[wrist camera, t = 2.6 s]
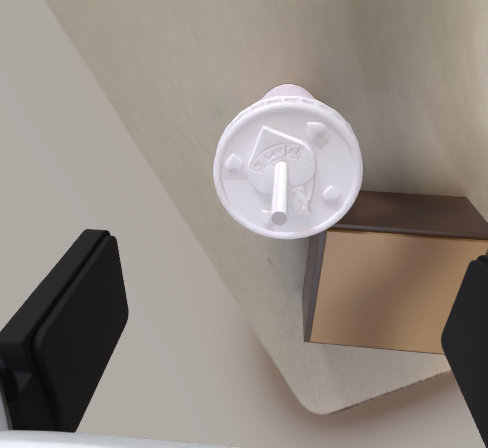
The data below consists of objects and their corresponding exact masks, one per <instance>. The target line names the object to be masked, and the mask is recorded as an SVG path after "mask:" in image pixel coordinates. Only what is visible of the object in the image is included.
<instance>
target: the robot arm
mask: <svg viewBox="0 0 488 448" xmlns="http://www.w3.org/2000/svg"><path fill="white" fill-rule="evenodd" d="M127 320H128V304H127V299H126V292H125V286H124V280H123V274H122V268H121V262H120V257H119V251H118V245H117V240H116V238H115V237H114V236H111V235H110V233H109V231H107V230H92V229H86V230H84V231H83V232H82V234H81V235H80V236H79V237H78V239H77V240H76V241H75V242H74V243H73V245H72V246H71V247H70V248H69V250H68V251H67V252H66V253H65V254H64V256H63V257H62V258H61V259H60V261H59V262H58V263H57V264H56V265H55V267H54V268H53V269H52V270H51V271H50V273H49V274H48V275H47V276H46V278H45V279H44V280H43V281H42V282H41V283H40V284H39V285H38V287H37V288H36V289H35V291H34V292H33V293H32V294H31V295H30V296H29V298H28V299H27V300H26V301H25V303H24V304H23V305H22V306H21V307H20V309H19V310H18V311H17V312H16V313H15V315H14V316H13V317H12V318H11V319H10V321H9V322H8V323H7V324H6V326H5V327H4V328H3V329H2V330H1V332H0V448H242V447H231V446H221V445H210V444H199V443H188V442H176V441H166V440H155V439H145V438H134V437H123V436H110V435H96V434H83V433H75V431H76V430H77V428H78V426H79V424H80V422H81V420H82V417H83V415H84V413H85V411H86V409H87V407H88V404H89V402H90V400H91V398H92V396H93V394H94V392H95V390H96V387H97V385H98V383H99V381H100V379H101V377H102V375H103V372H104V370H105V368H106V366H107V364H108V362H109V359H110V357H111V355H112V353H113V351H114V349H115V347H116V345H117V343H118V340H119V338H120V336H121V333H122V332H123V330H124V327H125V325H126V323H127ZM441 345H442V349H443V351H444V353H445V356H446V358H447V360H448V362H449V365H450V367H451V369H452V371H453V373H454V376H455V378H456V380H457V383H458V385H459V387H460V390H461V392H462V394H463V396H464V399H465V401H466V403H467V405H468V408H469V410H470V412H471V414H472V417H473V419H474V421H475V423H476V426H477V428H478V430H479V433H480V435H481V437H482V439H483V442H484V443H485V446H486V448H488V255H480V256H479V257H478V258H477V259H476V260H472V261H471V262H470V263H469V265H468V267H467V270H466V273H465V275H464V278H463V280H462V283H461V285H460V288H459V291H458V293H457V296H456V298H455V301H454V304H453V306H452V309H451V311H450V314H449V317H448V319H447V322H446V324H445V327H444V329H443V332H442V335H441Z"/></svg>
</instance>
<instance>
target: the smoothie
mask: <svg viewBox="0 0 488 448" xmlns="http://www.w3.org/2000/svg"><path fill="white" fill-rule="evenodd" d="M213 175H214V183H215V187H216V191H217V194H218V196H219V198H220V201H221V202H222V204H223V206H224V207H225V209H226V210H227V211H228V213H229V214H230V215H231V216H232V217H233V218H234V219H235V220H236V221H237V222H239V223H240V224H241V225H243V226H244V227H246V228H247V229H249V230H251V231H253V232H255V233H258V234H260V235H263V236H267V237H271V238H277V239H297V238H303V237H308V236H311V235H314V234H317V233H319V232H322V231H324V230H326V229H327V228H329V227H331V226H332V225H333V224H335V223H336V222H337V221H339V220H340V219H341V218H342V217H343V216H344V215H345V214H346V213H347V211H348V210H349V209H350V208H351V206H352V205H353V203H354V201H355V199H356V197H357V195H358V193H359V190H360V187H361V183H362V177H363V162H362V156H361V153H360V148H359V142H358V140H357V138H356V136H355V134H354V132H353V130H352V128H351V126H350V125H349V124H348V123H347V122H346V121H345V120H344V119H343V117H342V116H341V115H340V114H339V113H338V112H337V111H336V110H334V109H332V108H330V107H329V106H327V105H325V104H323V103H322V102H320V101H318V100H316V99H315V98H314V97H313V96H312V95H311V94H310V93H309V92H308V91H307V90H305V89H304V88H302V87H300V86H298V85H294V84H284V85H280V86H277V87H275V88H273V89H271V90H270V91H269V92H268V93H267V94H266V95H265V96H264V97H263V98H262V99H261V100H260V101H259V102H256V103H255V104H253V105H251V106H250V107H248V108H247V109H245V110H243V111H242V112H240V113H239V114H238V115H237V116H236V117H235V118H234V120H233V121H232V122H231V123H230V124H229V125H228V126H227V127H226V129H225V131H224V133H223V135H222V137H221V139H220V141H219V143H218V147H217V152H216V155H215V160H214V168H213Z"/></svg>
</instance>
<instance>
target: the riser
mask: <svg viewBox="0 0 488 448" xmlns="http://www.w3.org/2000/svg"><path fill="white" fill-rule="evenodd" d="M480 255H488V223H487V222H486V220H485V219H484V218H483V217H482V216H481V214H480V213H479V212H478V211H477V210H476V208H475V207H474V206H473V205H472V204H471V202H470V201H469V200H468V199H467V198H465V197H449V196H433V195H417V194H402V193H386V192H370V191H359V193H358V195H357V197H356V199H355V201H354V203H353V205H352V206H351V208H350V209H349V210H348V211H347V213H346V214H345V215H344V216H343V217H342V218H341V219H340V220H339V221H337V222H336V223H335V224H333V225H332V226H331V227H329V228H327V229H326V230H324V231H322V232H319V233H317V234H314V235H311V236H310V241H309V249H308V257H307V265H306V272H305V280H304V288H303V296H302V307H303V332H304V342H311V343H322V344H333V345H344V346H355V347H366V348H377V349H388V350H399V351H410V352H421V353H432V354H443V355H445V353H444V351H443V349H442V345H441V335H442V332H443V329H444V327H445V324H446V322H447V319H448V317H449V314H450V311H451V309H452V306H453V304H454V301H455V298H456V296H457V293H458V291H459V288H460V285H461V283H462V280H463V278H464V275H465V273H466V270H467V267H468V265H469V263H470V262H471V261H472V260H476V259H477V258H478V257H479V256H480Z"/></svg>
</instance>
